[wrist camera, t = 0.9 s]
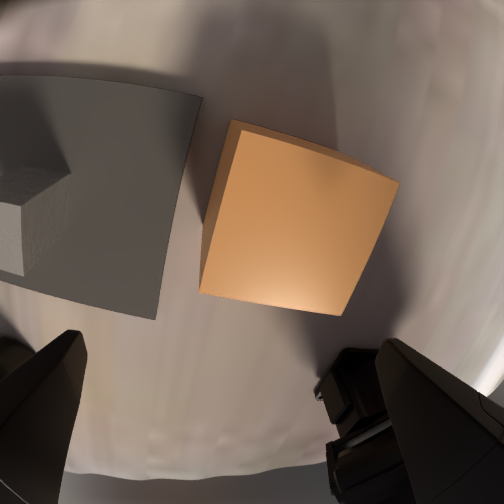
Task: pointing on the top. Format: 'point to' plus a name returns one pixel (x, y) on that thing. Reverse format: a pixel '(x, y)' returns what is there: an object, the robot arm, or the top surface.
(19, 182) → the gray rectangular block
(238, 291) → the rounded wooden cube
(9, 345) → the supplement bottle
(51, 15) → the top surface
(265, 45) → the top surface
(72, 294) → the dark gray mat
